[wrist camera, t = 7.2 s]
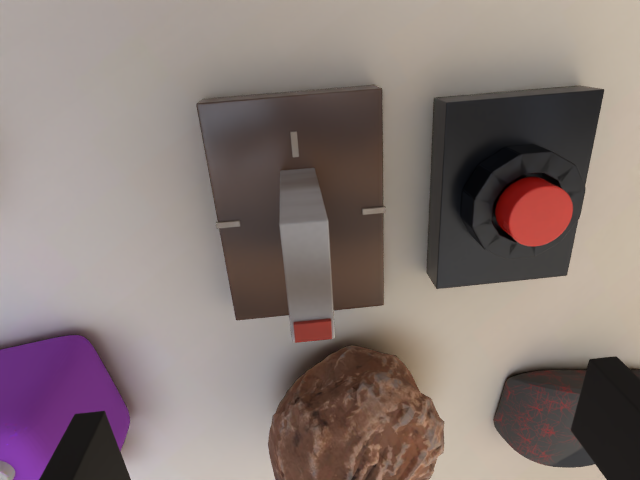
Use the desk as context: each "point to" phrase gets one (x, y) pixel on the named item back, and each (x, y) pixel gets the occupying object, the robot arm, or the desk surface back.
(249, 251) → the panel
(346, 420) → the decorative rock
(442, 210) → the button block
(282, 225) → the tap handle
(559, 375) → the dark grey rounded block
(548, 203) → the button
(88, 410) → the toy camera
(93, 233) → the desk surface
